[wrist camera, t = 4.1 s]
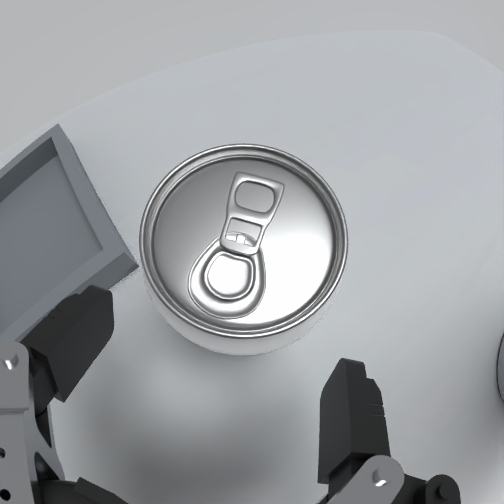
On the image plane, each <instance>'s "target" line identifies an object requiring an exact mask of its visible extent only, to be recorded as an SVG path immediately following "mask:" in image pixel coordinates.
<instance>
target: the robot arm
mask: <svg viewBox="0 0 504 504" xmlns="http://www.w3.org/2000/svg"><path fill="white" fill-rule="evenodd" d="M113 330H114V315H113V297H112V293H111V291H109V290H106V289H104V288H101V287H98V286H96V285H89V286H88V287H87V288H86V289H85V290H84V291H83V292H82V293H81V294H80V295H79V294H77V293H75V294H73V295H71V296H69V297H67V298H64V299H63V300H62V301H61V302H60V303H59V304H58V305H57V306H56V307H55V309H52V310H51V311H50V312H49V313H48V315H47V316H45V317H44V318H43V319H42V320H41V321H40V322H39V323H38V324H37V325H36V326H35V327H34V328H33V329H32V330H31V331H30V332H29V333H28V334H27V335H26V336H25V337H24V338H23V339H22V340H21V341H20V342H15V341H8V342H4V343H2V344H0V504H128V503H126V502H125V501H123V500H122V499H121V498H119V497H118V496H116V495H115V494H114V493H111V492H109V491H107V490H105V489H103V488H101V487H99V486H97V485H95V484H93V483H91V482H89V481H87V480H85V479H83V478H81V477H79V479H78V481H77V483H76V482H71V481H66V480H65V476H64V472H63V469H62V466H61V463H60V461H59V458H58V456H57V452H56V447H55V441H54V434H53V426H52V418H51V409H50V404H49V403H50V401H51V400H52V399H53V397H55V398H56V399H58V400H60V401H62V402H63V403H64V402H65V401H66V399H67V398H68V396H69V395H70V393H71V392H72V391H73V389H74V388H75V386H76V385H77V384H78V382H79V381H80V379H81V378H82V377H83V375H84V374H85V372H86V371H87V370H88V368H89V367H90V365H91V364H92V363H93V361H94V360H95V359H96V357H97V356H98V355H99V353H100V352H101V351H102V349H103V348H104V346H105V345H106V344H107V342H108V341H109V340H110V338H111V336H112V333H113ZM498 385H499V389H500V394H501V396H502V399H503V401H504V337H503V340H502V344H501V348H500V353H499V360H498ZM382 405H383V402H382V396H381V391H380V389H379V388H378V386H377V384H376V383H375V381H374V379H369V378H367V377H366V371H365V365H364V363H363V362H360V361H355V360H350V359H345V358H341V359H340V360H339V362H338V364H337V365H336V367H335V369H334V371H333V372H332V374H331V376H330V377H329V379H328V381H327V383H326V384H325V386H324V388H323V391H322V394H321V398H320V434H319V464H318V483H321V484H329V487H328V493H326V494H325V495H324V496H323V497H322V498H321V499H320V500H319V501H318V502H317V503H316V504H461V499H460V491H459V487H458V485H457V483H456V482H455V481H454V480H453V479H452V478H451V477H449V476H447V475H436V476H434V477H433V478H431V479H430V480H428V481H425V480H422V479H419V478H415V477H412V476H409V475H406V474H404V472H403V469H402V467H401V466H400V464H399V463H398V462H397V461H396V460H394V459H393V458H391V455H390V449H389V441H388V434H387V427H386V420H385V417H384V415H385V414H384V408H383V407H382Z"/></svg>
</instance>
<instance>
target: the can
mask: <svg viewBox="0 0 504 504" xmlns="http://www.w3.org/2000/svg"><path fill="white" fill-rule="evenodd" d="M139 248H140V256H141V261H142V269H143V275H144V280H145V284H146V287H147V290H148V292H149V295H150V297H151V299H152V301H153V303H154V305H155V306H156V308H157V309H158V311H159V312H160V314H161V315H162V316H163V318H164V319H165V320H166V321H167V322H168V323H169V324H170V325H171V327H173V328H174V329H175V330H176V331H177V332H178V333H179V334H181V335H182V336H183V337H185V338H186V339H188V340H189V341H191V342H193V343H195V344H197V345H199V346H201V347H203V348H205V349H208V350H211V351H214V352H217V353H221V354H226V355H234V356H253V355H260V354H265V353H269V352H272V351H276V350H278V349H281V348H283V347H286V346H288V345H290V344H292V343H294V342H295V341H297V340H299V339H300V338H302V337H303V336H304V335H306V334H307V333H308V332H309V331H311V330H312V329H313V328H314V327H315V326H316V325H317V324H318V323H319V322H320V321H321V319H322V318H323V317H324V316H325V314H326V313H327V312H328V310H329V309H330V307H331V305H332V304H333V302H334V300H335V298H336V295H337V293H338V291H339V288H340V284H341V281H342V276H343V271H344V268H345V264H346V259H347V253H348V231H347V225H346V220H345V216H344V213H343V210H342V208H341V205H340V203H339V201H338V199H337V197H336V195H335V194H334V192H333V190H332V189H331V188H330V186H329V185H328V184H327V182H326V181H325V180H324V179H323V178H322V177H321V176H320V175H319V174H318V173H317V172H316V171H315V170H314V169H313V168H312V167H310V166H309V165H308V164H306V163H305V162H303V161H302V160H300V159H298V158H297V157H295V156H293V155H291V154H289V153H286V152H284V151H281V150H279V149H275V148H272V147H268V146H263V145H256V144H230V145H223V146H218V147H214V148H211V149H208V150H205V151H202V152H200V153H198V154H195V155H194V156H192V157H190V158H188V159H186V160H185V161H183V162H182V163H180V164H179V165H178V166H176V167H175V168H174V169H173V170H171V171H170V172H169V173H168V174H167V175H166V176H165V177H164V178H163V180H162V181H161V182H160V183H159V185H158V186H157V187H156V189H155V190H154V192H153V193H152V195H151V197H150V199H149V201H148V203H147V205H146V208H145V210H144V213H143V217H142V221H141V226H140V234H139Z"/></svg>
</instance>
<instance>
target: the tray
mask: <svg viewBox="0 0 504 504" xmlns="http://www.w3.org/2000/svg"><path fill="white" fill-rule="evenodd" d="M138 267H139V265H138V264H137V262H136V261H135V259H134V257H133V256H132V254H131V252H130V251H129V249H128V247H127V246H126V244H125V242H124V241H123V239H122V237H121V236H120V234H119V232H118V231H117V229H116V227H115V225H114V224H113V222H112V220H111V218H110V217H109V215H108V213H107V211H106V210H105V208H104V206H103V204H102V202H101V200H100V199H99V197H98V195H97V193H96V191H95V189H94V187H93V185H92V184H91V182H90V180H89V178H88V176H87V174H86V172H85V170H84V168H83V166H82V164H81V162H80V160H79V158H78V156H77V154H76V152H75V150H74V148H73V146H72V144H71V142H70V141H69V139H68V138H67V136H66V135H65V133H64V131H63V130H62V128H61V127H60V125H59V124H57V125H55V126H54V127H53V128H51V129H50V130H48V131H47V132H46V133H44V134H43V135H42V136H41V137H39V138H38V139H37V140H35V141H34V142H33V143H32V144H30V145H29V146H28V147H27V148H25V149H24V150H23V151H22V152H21V153H19V154H18V155H17V156H16V157H15V158H13V159H12V160H11V161H10V162H9V163H8V164H7V165H5V166H4V167H3V168H2V169H1V170H0V344H2V343H4V342H8V341H15V342H20V341H21V340H22V339H23V338H24V337H25V336H26V335H27V334H28V333H29V332H30V331H31V330H32V329H33V328H34V327H35V326H36V325H37V324H38V323H39V322H40V321H41V320H42V319H43V318H44V317H45V316H47V315H48V313H49V312H50V311H51V310H52V309H55V307H56V306H57V305H58V304H59V303H60V302H61V301H62V300H63V299H64V298H67V297H69V296H71V295H73V294H75V293H77V294H79V295H80V294H81V293H82V292H83V291H84V290H85V289H86V288H87V287H88V286H89V285H96V286H98V287H101V288H104V289H106V290H108V289H109V288H110V287H112V286H113V285H114V284H116V283H117V282H118V281H120V280H121V279H123V278H124V277H125V276H127V275H128V274H129V273H131V272H132V271H133V270H135V269H136V268H138Z"/></svg>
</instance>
